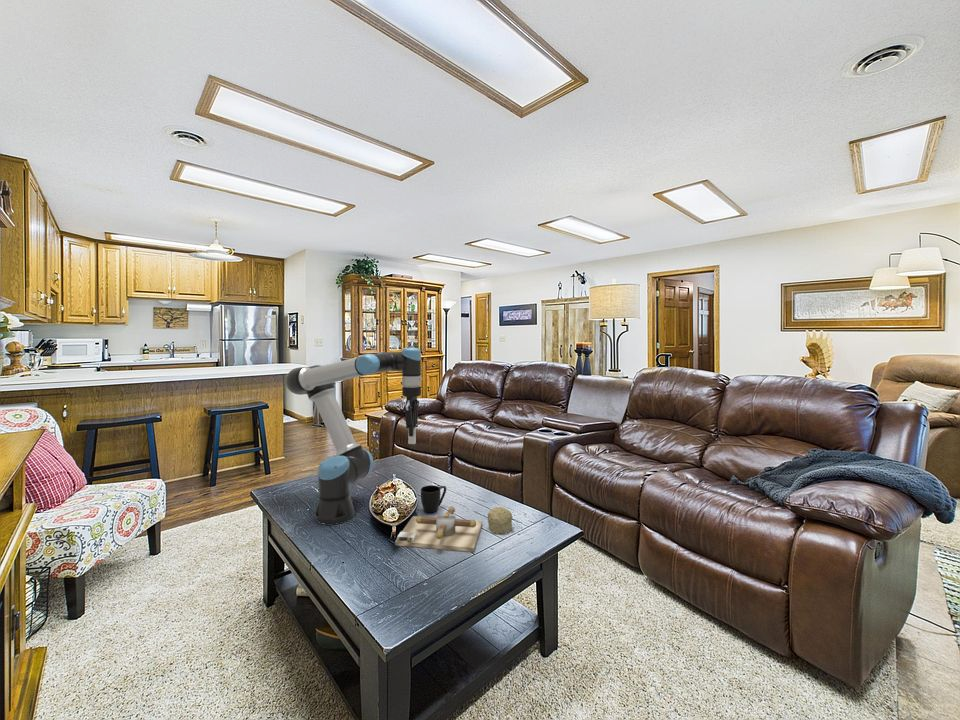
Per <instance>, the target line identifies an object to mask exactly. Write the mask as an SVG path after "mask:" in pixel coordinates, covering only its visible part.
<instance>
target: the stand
mask: <svg viewBox="0 0 960 720" xmlns="http://www.w3.org/2000/svg"><path fill="white" fill-rule="evenodd" d="M418 516H419V515H418ZM418 516H416V515H413V516H412V517H411V518H410V519H409V521H408V522H407V524H406V525H405V527H404V528H403V530H401V531H400V532H399V534H398V535H397V537H396V540H394V541H395V542H394V545H395V546H400V547H410V548H421V549H423V548H424V549H431V550H432V549H436V550H443V551H447V550H448V551H457V552H458V551H459V552H466V553H468V552H469V553H474V552H475V549H476V547H477V542H478V541H479V540H478V539H479V538H480V537H479V536H480V533H481V530H482V527H483V521H482V520H475V521H476V526H475V527H473V528H472V527H462V526H455V533H454V534H452V535H448V536H443V537H442V538H441V539H437V538H436V533H437V532H436V525H434V524H418V523H417V522H416V518H417V517H418Z"/></svg>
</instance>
